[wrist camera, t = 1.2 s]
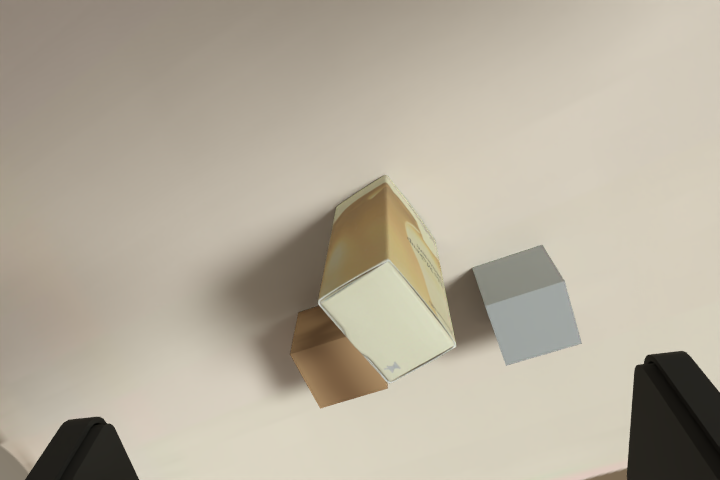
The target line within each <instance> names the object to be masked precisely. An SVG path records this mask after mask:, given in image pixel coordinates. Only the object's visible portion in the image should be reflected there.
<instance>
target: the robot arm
mask: <svg viewBox="0 0 720 480" xmlns="http://www.w3.org/2000/svg"><path fill="white" fill-rule="evenodd" d="M25 480H139V479H138V476H137V474H136V472H135V470H134V468H133V466H132V464H131V462H130V459H129V457H128V455H127V453H126V451H125V449H124V447H123V445H122V442H121V440H120V438H119V436H118V434H117V432H116V430H115V428H114V426H113V425H111V424H107V423H106V422H105V420H104V419H103V418H101V417H90V418H81V419H72V420H68V421H66V422H64V423H63V424H62V425H61V427H60V428H59V430H58V431H57V433H56V434H55V436H54V437H53V439H52V440H51V442H50V443H49V445H48V446H47V448H46V449H45V451H44V452H43V454H42V455H41V457H40V458H39V460H38V461H37V463H36V464H35V466H34V467H33V469H32V470H31V472H30V473H29V475H28V476H27V478H26V479H25ZM627 480H720V392H719V391H718V390H717V389H716V387H715V386H714V385H713V384H712V383H711V381H710V380H709V379H708V378H707V376H706V375H705V374H704V373H703V371H702V370H701V369H700V368H699V367H698V365H697V364H696V363H695V362H694V360H693V359H692V358H691V357H690V356H689V355H688V354H687V353H686V352H684V351H678V352H669V353H660V354H651V355H647V356H646V358H645V361H644V364H641V365H637V366H636V367H635V371H634V385H633V399H632V412H631V426H630V440H629V454H628V467H627Z"/></svg>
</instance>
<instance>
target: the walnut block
mask: <svg viewBox="0 0 720 480" xmlns="http://www.w3.org/2000/svg"><path fill="white" fill-rule="evenodd" d="M290 355H291V357H292V359H293V361H294V362H295V364H296V366H297V368H298V370H299V371H300V373H301V375H302V377H303V378H304V380H305V382H306V384H307V386H308V387H309V389H310V391H311V393H312V395H313V396H314V398H315V400H316V402H317V403H318V405H319V407H320V408H323V407H327V406H330V405H333V404H337V403H340V402H344V401H347V400H350V399H354V398H357V397H360V396H364V395H367V394H370V393H374V392H377V391H381V390H384V389H387V388H388V384H387V382H386V381H385V380H384V378H383V377H382V376H381V375H380V374H379V373H378V372H377V371H376V369H375V368H374V367H373V366H372V365H371V364H370V363H369V362H368V360H367V359H366V358H365V357H364V356H363V355H362V354H361V353H360V352H359V351H358V350H357V349H356V348H355V347H354V345H353V344H352V343H351V342H350V341H349V339H348V338H347V337H346V336H345V335H344V333H343V332H342V331H341V330H340V329H339V328H338V326H337V325H336V324H335V323H334V322H333V321H332V320H331V319H330V317H329V316H328V315H327V314H326V313H325V312H324V310H323V309H322V308H321V307H320V306H316V307H313V308H310V309H307V310H304V311H301V312H298V317H297V322H296V327H295V332H294V337H293V342H292V347H291V352H290Z"/></svg>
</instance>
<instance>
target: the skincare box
mask: <svg viewBox="0 0 720 480" xmlns="http://www.w3.org/2000/svg"><path fill="white" fill-rule="evenodd" d="M318 305H319V306H320V307H321V308H322V309H323V310H324V312H325V313H326V314H327V315H328V316H329V317H330V319H331V320H332V321H333V322H334V323H335V324H336V325H337V326H338V328H339V329H340V330H341V331H342V332H343V333H344V335H345V336H346V337H347V338H348V339H349V341H350V342H351V343H352V344H353V345H354V347H355V348H356V349H357V350H358V351H359V352H360V353H361V354H362V355H363V356H364V357H365V358H366V359H367V360H368V362H369V363H370V364H371V365H372V366H373V367H374V368H375V369H376V371H377V372H378V373H379V374H380V375H381V376H382V377H383V378H384V380H385V381H386V382H387V383H392V382H394V381H396V380H398V379H399V378H401V377H403V376H405V375H407V374H409V373H411V372H413V371H415V370H416V369H418V368H420V367H422V366H424V365H426V364H428V363H429V362H431V361H433V360H435V359H436V358H438V357H440V356H442V355H443V354H445V353H446V352H448V351H450V350H451V349H453V348H455V347H456V341H455V337H454V332H453V327H452V322H451V318H450V312H449V307H448V302H447V297H446V292H445V287H444V283H443V277H442V273H441V268H440V263H439V257H438V252H437V247H436V242H435V240H434V238H433V237H432V235H431V234H430V232H429V231H428V229H427V228H426V226H425V225H424V223H423V222H422V220H421V219H420V218H419V216H418V215H417V213H416V212H415V211H414V209H413V208H412V207H411V205H410V204H409V203H408V201H407V200H406V199H405V198H404V196H403V195H402V194H401V192H400V191H399V190H398V189H397V187H396V186H395V185H394V184H393V182H392V181H391V180H390V179H389V177H388V176H387V175H384V176H382V177H381V178H379V179H378V180H376V181H374V182H373V183H371V184H370V185H368V186H367V187H365V188H363V189H362V190H360V191H359V192H357V193H356V194H354V195H353V196H351V197H350V198H348V199H347V200H345V201H344V202H342V203H341V204H340V205H338V206H337V207H336V211H335V216H334V221H333V226H332V231H331V236H330V241H329V246H328V251H327V257H326V261H325V267H324V272H323V277H322V282H321V287H320V292H319V297H318Z"/></svg>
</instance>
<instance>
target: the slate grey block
mask: <svg viewBox="0 0 720 480" xmlns="http://www.w3.org/2000/svg"><path fill="white" fill-rule="evenodd" d="M472 269H473V272H474V275H475V278H476V281H477V284H478V287H479V290H480V293H481V296H482V298H483V301H484V304H485V307H486V310H487V313H488V316H489V319H490V321H491V324H492V327H493V330H494V333H495V336H496V338H497V341H498V344H499V347H500V350H501V352H502V355H503V358H504V361H505V364H506V366H507V365H510V364H513V363H517V362H520V361H524V360H527V359H531V358H534V357H537V356H541V355H544V354H548V353H551V352H554V351H558V350H561V349H565V348H568V347H571V346H575V345H578V344H582V343H581V339H580V335H579V332H578V328H577V325H576V321H575V317H574V314H573V310H572V306H571V303H570V299H569V296H568V292H567V288H566V285H565V281H564V279H563V278H562V276H561V275H560V273H559V271H558V270H557V268H556V266H555V265H554V263H553V261H552V260H551V258H550V257H549V255H548V253H547V252H546V250H545V248H544V247H543V245H540V246H537V247H534V248H531V249H528V250H525V251H522V252H519V253H516V254H513V255H509V256H506V257H503V258H500V259H497V260H494V261H491V262H488V263H485V264H482V265H479V266H476V267H473V268H472Z"/></svg>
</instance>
